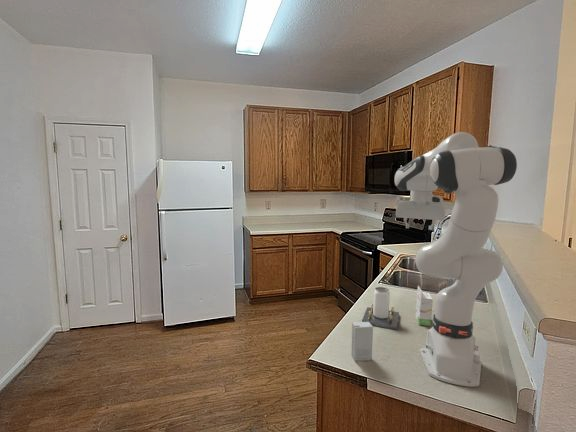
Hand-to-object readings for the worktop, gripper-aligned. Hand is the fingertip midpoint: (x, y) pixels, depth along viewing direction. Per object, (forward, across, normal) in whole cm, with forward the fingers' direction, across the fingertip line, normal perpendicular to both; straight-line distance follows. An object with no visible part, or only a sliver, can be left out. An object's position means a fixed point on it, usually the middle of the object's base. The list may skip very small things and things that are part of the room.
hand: (418, 228), depth 142 cm
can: (+38, -13, -12) cm, 42 cm away
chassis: (+39, -13, -13) cm, 43 cm away
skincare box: (+39, -16, -47) cm, 63 cm away
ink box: (+39, +4, -7) cm, 40 cm away
